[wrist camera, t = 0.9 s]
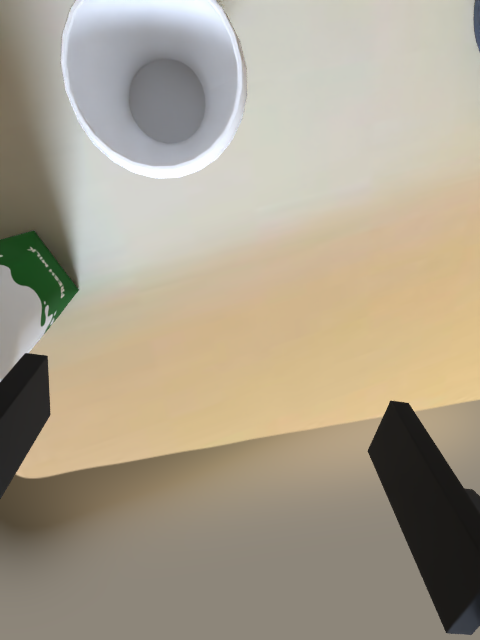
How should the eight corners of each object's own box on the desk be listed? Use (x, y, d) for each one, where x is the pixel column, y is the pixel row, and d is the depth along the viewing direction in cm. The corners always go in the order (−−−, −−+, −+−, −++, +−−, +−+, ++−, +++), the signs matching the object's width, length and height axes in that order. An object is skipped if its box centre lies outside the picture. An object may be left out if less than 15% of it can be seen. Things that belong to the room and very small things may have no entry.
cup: (105, 24, 31) (38, -76, 18) (235, 44, 33) (265, -35, 19) (109, 164, 35) (56, 171, 22) (224, 176, 37) (242, 189, 23)
